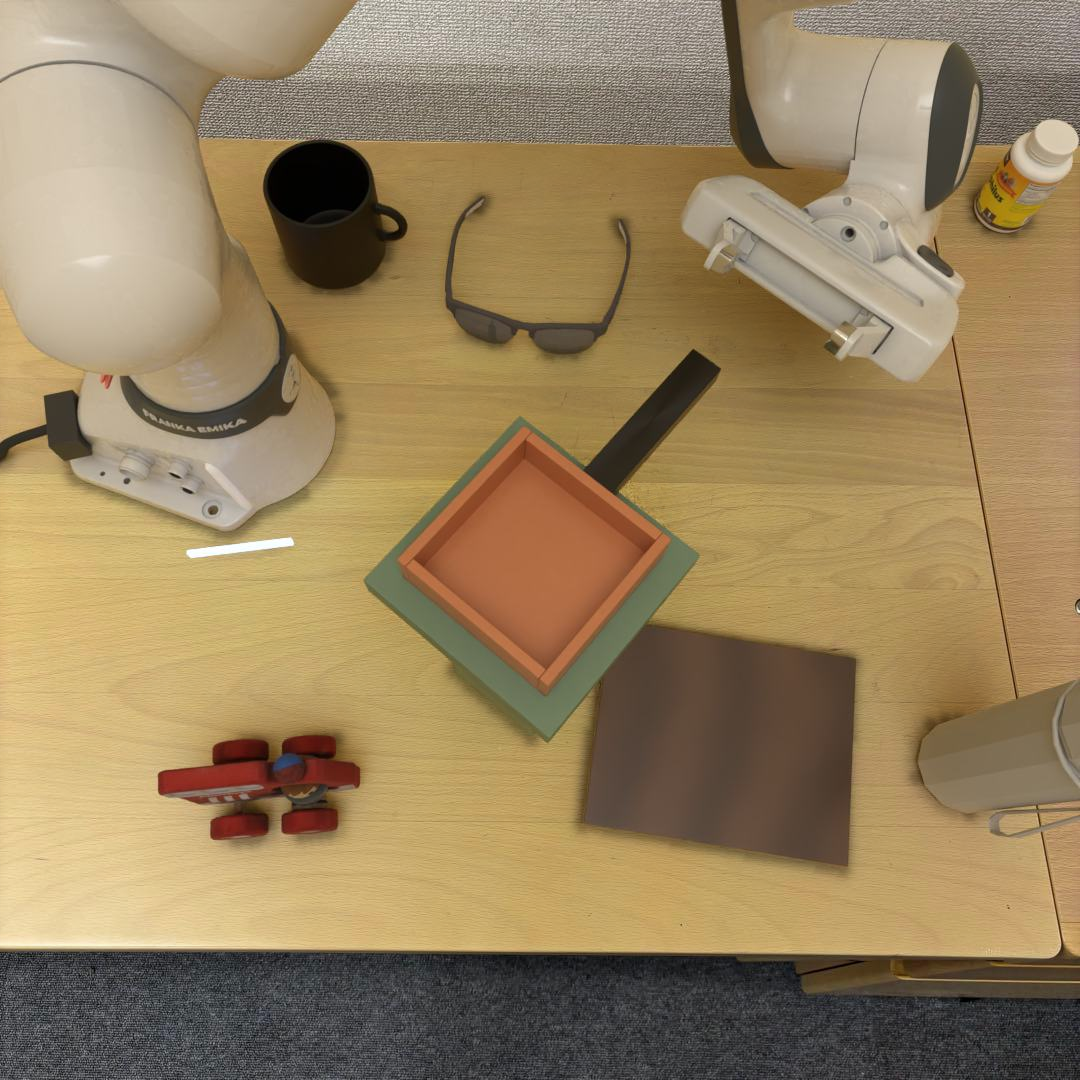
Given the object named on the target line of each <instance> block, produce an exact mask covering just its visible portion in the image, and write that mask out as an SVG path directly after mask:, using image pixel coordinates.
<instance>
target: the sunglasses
mask: <svg viewBox="0 0 1080 1080" xmlns="http://www.w3.org/2000/svg"><path fill="white" fill-rule="evenodd" d="M485 199H486V197H485V195H481V196H480V197H478V198H477V199H476V200H475V201H473V202H472V203H470V205H468V206H467V207H466V208H465V209H464V210H463V212H461V214H460V216H459V217H458V219H457V220H456V223H455V225H454V228H453V231H452V235H451V237H450V238H451V239H450V243H449V249H448V254H447V255H448V256H447V260H446V261H447V263H446V271H445V281H444V292H445V298H444V299H445V300H444V301H445V308H446V309H447V310H448V311H449V312H450V313H451V314H452V317H453V319H454V320H455V321H456V323H457V325H458V326H459V327H460V328H461V329H462V330H463V332H465V333H467V334H468V335H470V336H472V337H473V338H475V339H477V340H480V341H483V342H485V343H490V344H498V345H501V344H506V343H508V342H510V341H511V340H513V339H514V338H515V337H516V335H517V334H518V331H519V330H521V331H526V332H528V338H529V339H531V341H532V342H533V344H534V345H535V346H536V347H538V348H539V349H540V350H542V351H544V352H546V353H550V354H555V355H572V354H573V355H574V354H578V353H582V352H584V351H586V350H588V349H590V348H591V347H592V346H593V345H594V343H596V342H597V340H598V339H599V338H600V337H603V336H605V335H606V334H607V331H608V329H609V326H610V324H611V322H612V321H613V319H614V316H615V314H616V311H617V309H618V307H619V304H620V301H621V297H622V294H623V291H624V288H625V283H626V279H627V276H628V271H629V268H630V267H629V266H630V262H631V254H632V253H631V252H632V244H631V237H630V235H629V232H628V229H627V227H626V225H625V222H624V219H623V218H618V229H619V232H620V233H621V235H622V237H623V239H624V243H625V250H626V251H625V252H626V253H625V262H624V267H623V271H622V274H621V277H620V281H619V284H618V287H617V289H616V291H615V294H614V297H613V299H612V301H611V304H610V306H609V308H608V309H607V311H606V313H605V315H603V317H602V321H601V322H527V321H521V320H518V319H513V318H511V317H508V316H504V315H502V314H499V313H496V312H494V311H490V310H488V309H484V308H480V307H478V306H475V305H472V304H469V303H466V302H464V301H461V300H458V299H456V298H454V297H453V287H452V282H453V281H452V276H453V271H454V262H455V261H454V260H455V252H456V244H457V241H458V240H457V238H458V235H459V232H460V229H461V227H462V225H463V224H464V222H465V220H466V218H468V216H469V215H470V214H472V213H473V212H475V211H477V209H479V208H480V207H481V206H482V204H483V203H484V201H485Z"/></svg>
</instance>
